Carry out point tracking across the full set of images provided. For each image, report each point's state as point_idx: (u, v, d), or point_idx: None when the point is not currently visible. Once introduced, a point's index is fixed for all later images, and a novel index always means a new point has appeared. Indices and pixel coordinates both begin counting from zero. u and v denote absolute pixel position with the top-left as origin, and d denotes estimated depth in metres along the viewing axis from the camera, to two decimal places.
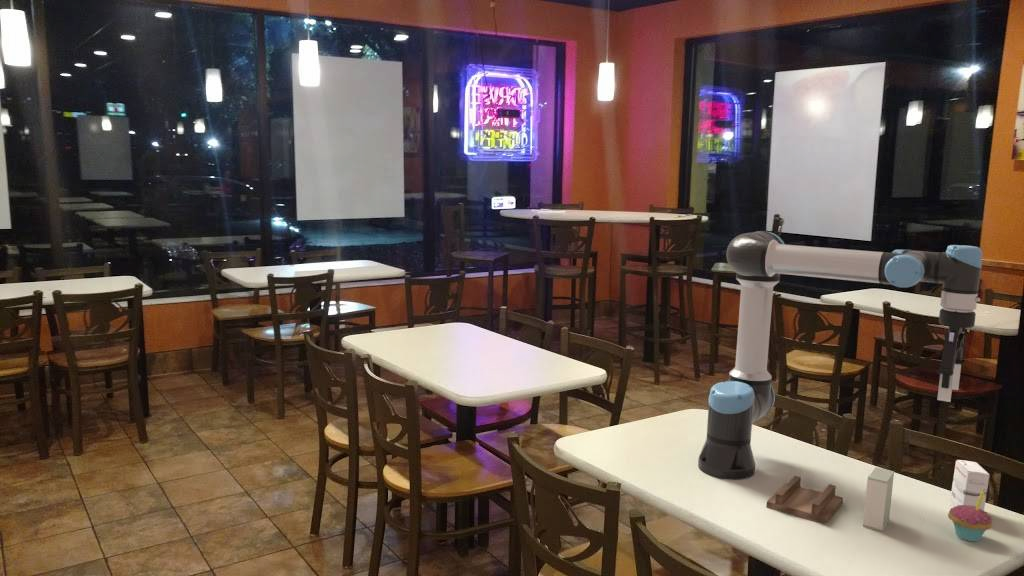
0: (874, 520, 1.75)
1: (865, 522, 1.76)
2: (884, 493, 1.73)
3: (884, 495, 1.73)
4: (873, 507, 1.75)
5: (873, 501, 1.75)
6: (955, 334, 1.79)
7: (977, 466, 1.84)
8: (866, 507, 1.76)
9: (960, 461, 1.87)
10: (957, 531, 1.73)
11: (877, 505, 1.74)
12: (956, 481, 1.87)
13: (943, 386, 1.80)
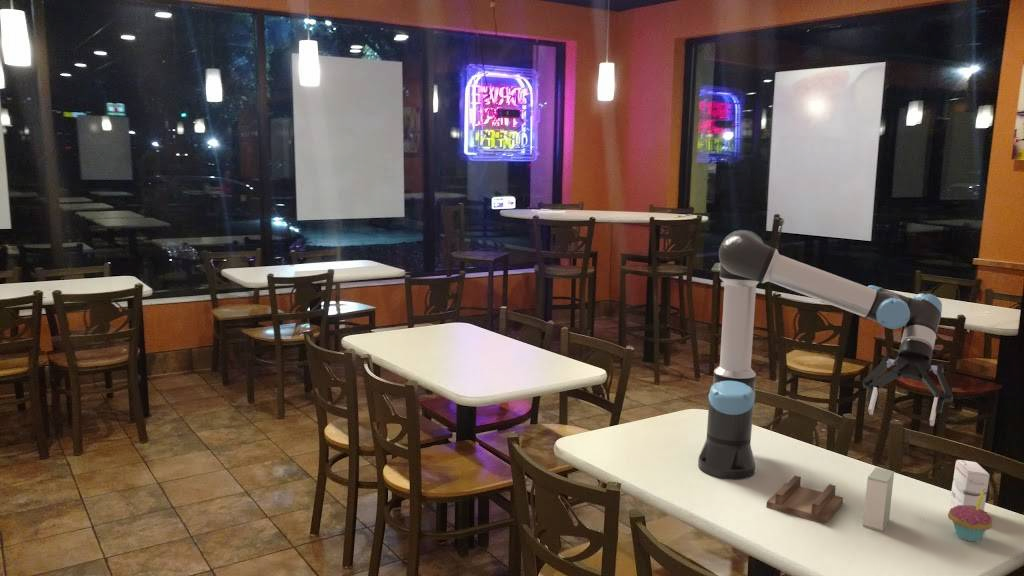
0: (874, 520, 1.75)
1: (865, 522, 1.76)
2: (884, 493, 1.73)
3: (884, 495, 1.73)
4: (873, 507, 1.75)
5: (873, 501, 1.75)
6: None
7: (977, 466, 1.84)
8: (866, 507, 1.76)
9: (960, 461, 1.87)
10: (957, 531, 1.73)
11: (877, 505, 1.74)
12: (956, 481, 1.87)
13: (941, 410, 1.83)
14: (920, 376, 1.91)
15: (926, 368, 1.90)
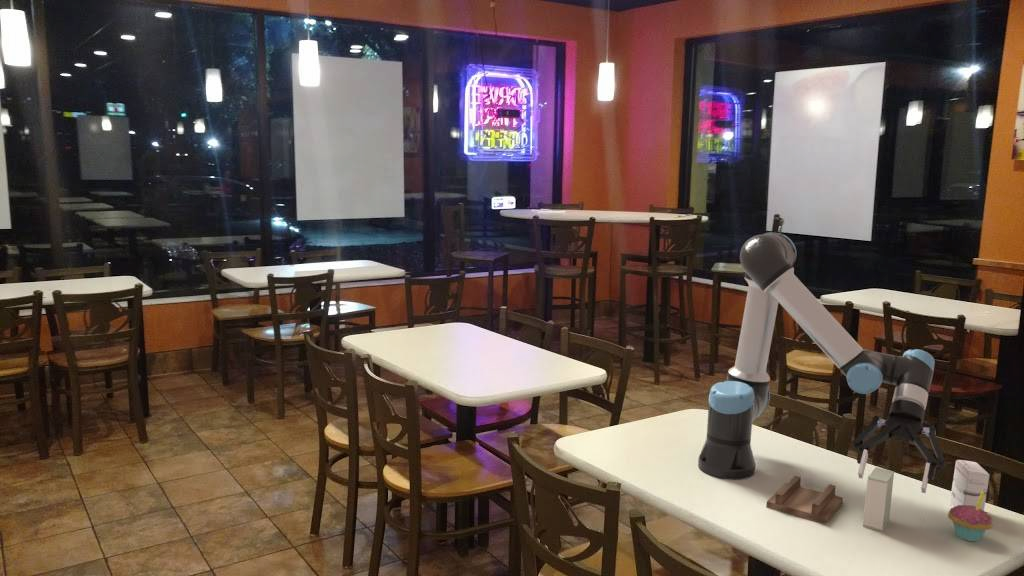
0: (874, 520, 1.75)
1: (865, 522, 1.76)
2: (884, 493, 1.73)
3: (884, 495, 1.73)
4: (873, 507, 1.75)
5: (873, 501, 1.75)
6: None
7: (977, 466, 1.84)
8: (866, 507, 1.76)
9: (960, 461, 1.87)
10: (957, 531, 1.73)
11: (877, 505, 1.74)
12: (956, 481, 1.87)
13: (933, 477, 1.76)
14: (912, 438, 1.84)
15: (918, 430, 1.84)
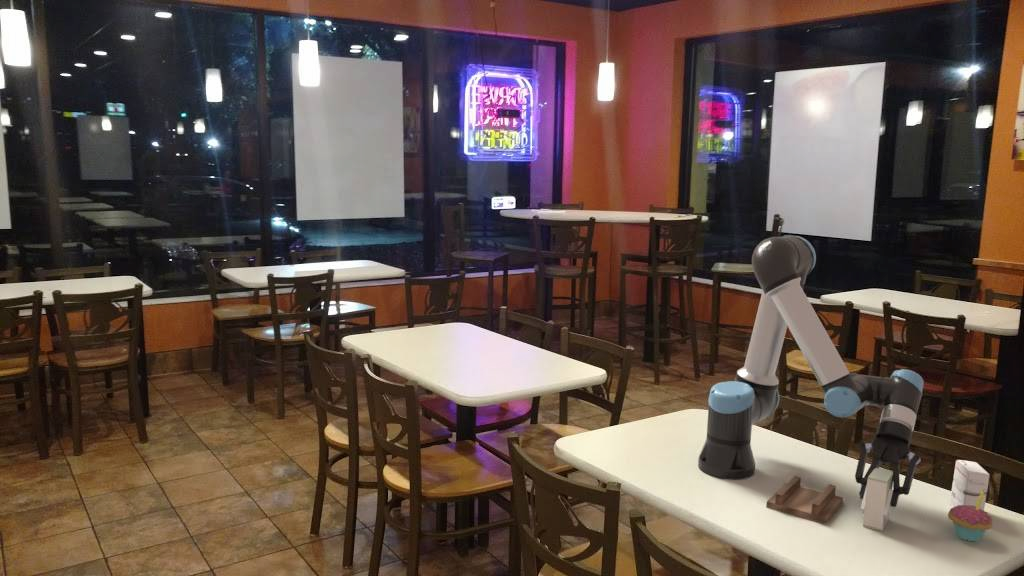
0: (874, 520, 1.75)
1: (865, 522, 1.76)
2: (884, 493, 1.73)
3: (884, 495, 1.73)
4: (873, 507, 1.75)
5: (873, 501, 1.75)
6: (920, 460, 1.79)
7: (977, 466, 1.84)
8: (866, 507, 1.76)
9: (960, 461, 1.87)
10: (957, 531, 1.73)
11: (877, 505, 1.74)
12: (956, 481, 1.87)
13: (895, 504, 1.74)
14: (892, 460, 1.81)
15: (902, 452, 1.80)
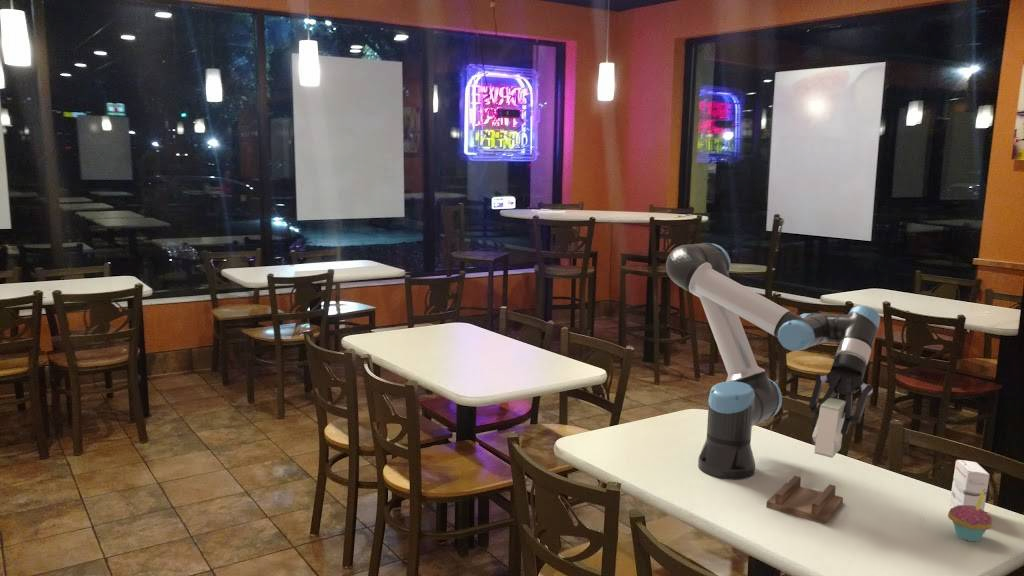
0: (825, 447, 1.79)
1: (817, 449, 1.80)
2: (835, 420, 1.77)
3: (835, 422, 1.77)
4: (824, 435, 1.79)
5: (825, 428, 1.79)
6: (872, 391, 1.84)
7: (977, 466, 1.84)
8: (818, 434, 1.80)
9: (960, 461, 1.87)
10: (957, 531, 1.73)
11: (828, 432, 1.78)
12: (956, 481, 1.87)
13: (846, 431, 1.79)
14: (846, 391, 1.85)
15: (856, 383, 1.84)
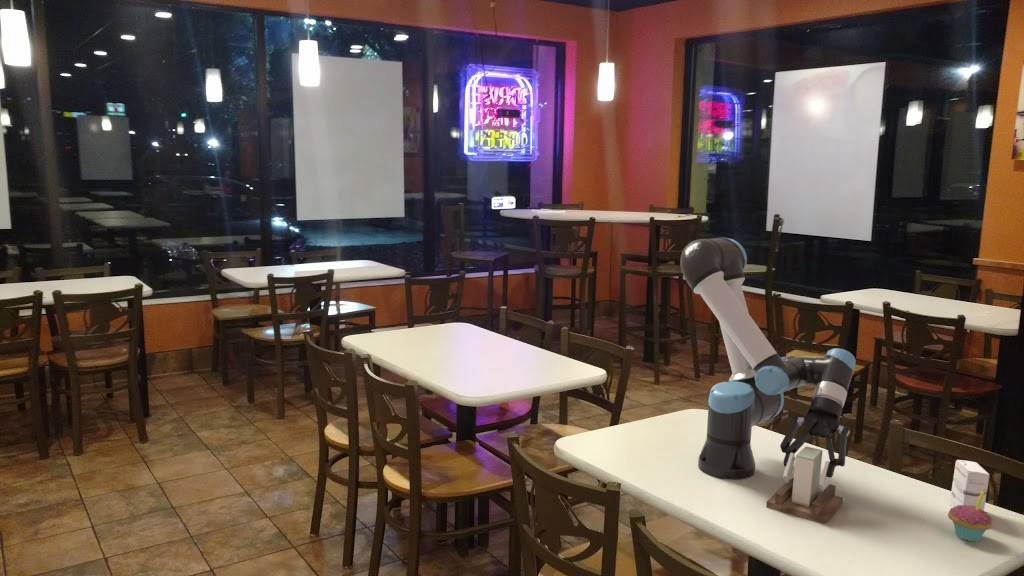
0: (801, 496, 1.83)
1: (794, 498, 1.85)
2: (811, 470, 1.81)
3: (811, 472, 1.82)
4: (800, 484, 1.83)
5: (801, 478, 1.83)
6: (849, 431, 1.88)
7: (977, 466, 1.84)
8: (794, 484, 1.84)
9: (960, 461, 1.87)
10: (957, 531, 1.73)
11: (804, 482, 1.83)
12: (956, 481, 1.87)
13: (831, 474, 1.82)
14: (824, 435, 1.89)
15: (832, 427, 1.89)
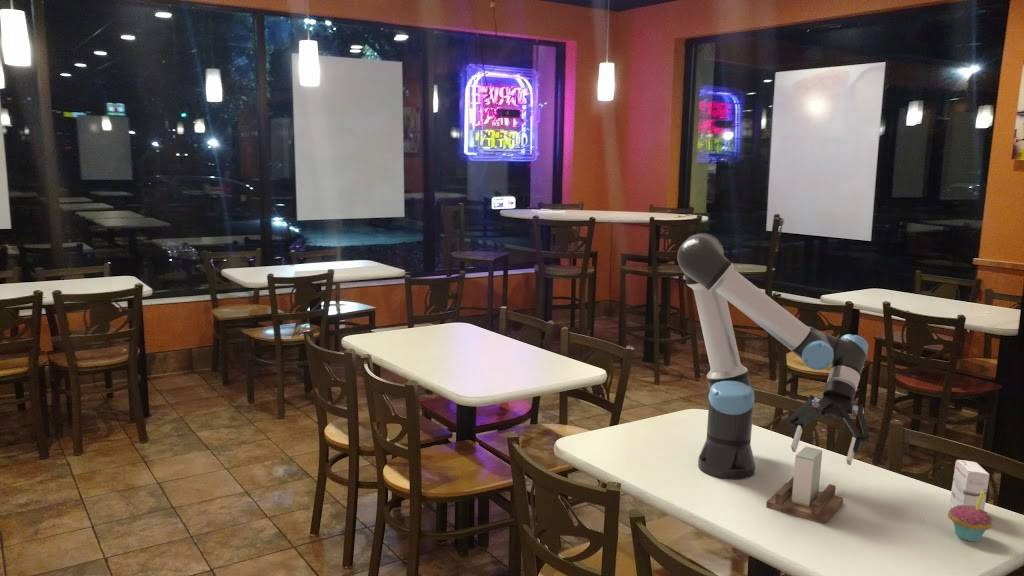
0: (801, 496, 1.83)
1: (794, 498, 1.85)
2: (810, 470, 1.82)
3: (810, 472, 1.82)
4: (800, 484, 1.83)
5: (801, 478, 1.83)
6: None
7: (977, 466, 1.84)
8: (794, 484, 1.84)
9: (960, 461, 1.87)
10: (957, 531, 1.73)
11: (804, 482, 1.83)
12: (956, 481, 1.87)
13: (858, 450, 1.91)
14: (842, 416, 1.98)
15: (848, 408, 1.98)
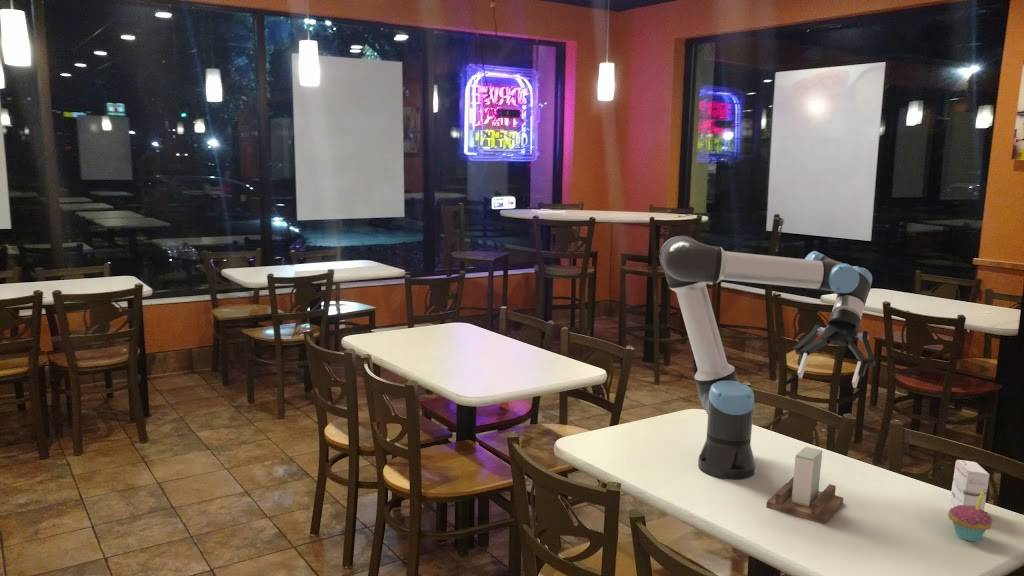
0: (801, 496, 1.83)
1: (794, 498, 1.85)
2: (810, 470, 1.82)
3: (810, 472, 1.82)
4: (800, 484, 1.83)
5: (801, 478, 1.83)
6: None
7: (977, 466, 1.84)
8: (794, 484, 1.84)
9: (960, 461, 1.87)
10: (957, 531, 1.73)
11: (804, 482, 1.83)
12: (956, 481, 1.87)
13: (863, 373, 1.95)
14: (847, 342, 2.03)
15: (853, 335, 2.03)
